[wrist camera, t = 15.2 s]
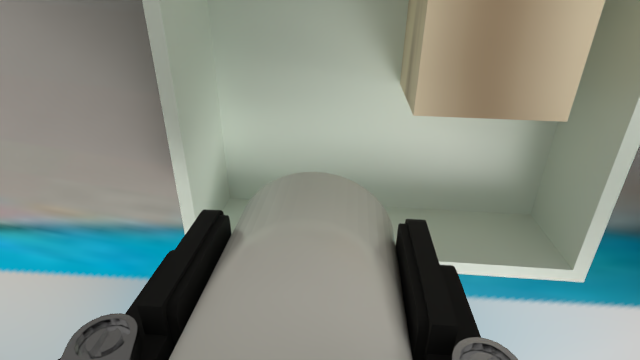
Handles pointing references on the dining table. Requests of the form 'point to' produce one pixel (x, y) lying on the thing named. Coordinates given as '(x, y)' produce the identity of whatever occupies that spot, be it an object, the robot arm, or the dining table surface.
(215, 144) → the tote
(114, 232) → the dining table surface
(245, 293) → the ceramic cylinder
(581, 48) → the beech cube
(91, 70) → the dining table surface
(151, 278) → the robot arm
